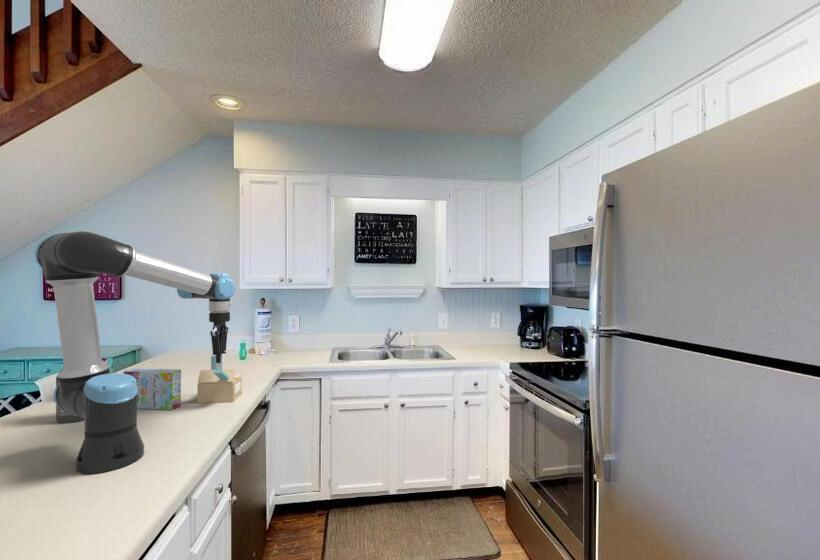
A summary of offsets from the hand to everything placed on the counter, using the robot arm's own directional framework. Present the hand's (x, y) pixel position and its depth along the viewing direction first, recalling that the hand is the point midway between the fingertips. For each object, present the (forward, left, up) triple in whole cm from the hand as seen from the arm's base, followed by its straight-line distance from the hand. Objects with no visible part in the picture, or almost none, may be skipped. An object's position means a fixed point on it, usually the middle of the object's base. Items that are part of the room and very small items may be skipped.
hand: (219, 370), depth 152 cm
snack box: (+2, +26, -15) cm, 30 cm away
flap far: (+13, +3, -6) cm, 15 cm away
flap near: (+7, +3, -4) cm, 9 cm away
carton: (+10, +3, -15) cm, 18 cm away
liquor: (-8, +47, -15) cm, 50 cm away
